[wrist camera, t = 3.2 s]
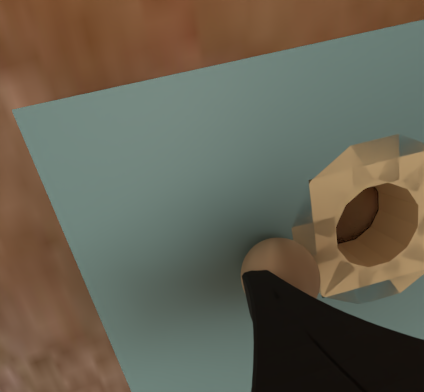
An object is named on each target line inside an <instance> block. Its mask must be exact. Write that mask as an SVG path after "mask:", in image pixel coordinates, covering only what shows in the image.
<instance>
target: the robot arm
mask: <svg viewBox="0 0 424 392" xmlns="http://www.w3.org/2000/svg"><path fill="white" fill-rule="evenodd" d="M242 280H243V285H244V289H245V294H246V299H247V303H248V308H249V313H250V317H251V319H252V322H253V339H254V350H253V374H252V388H251V392H424V340H423V339H419V338H416V337H412V336H409V335H406V334H403V333H400V332H397V331H394V330H391V329H388V328H385V327H382V326H379V325H376V324H373V323H371V322H368V321H365V320H363V319H361V318H358V317H356V316H353V315H351V314H348V313H346V312H343V311H341V310H339V309H337V308H334V307H332V306H330V305H328V304H326V303H324V302H322V301H320V300H318V299H316V298H314V297H312V296H310V295H308V294H307V293H305V292H303V291H301V290H300V289H298V288H296V287H294V286H293V285H291V284H289V283H288V282H286V281H284V280H283V279H281V278H279V277H278V276H276V275H275V274H273V273H271V272H270V271H268V270H259V271H253V270H251V271H248V272H245V273H244V274H243V275H242Z"/></svg>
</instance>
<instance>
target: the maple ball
mask: <svg viewBox="0 0 424 392" xmlns="http://www.w3.org/2000/svg"><path fill="white" fill-rule="evenodd" d="M251 270H253V271H259V270H268V271H270V272H271V273H273V274H275V275H276V276H278V277H279V278H281V279H283V280H284V281H286V282H288V283H289V284H291V285H293V286H294V287H296V288H298V289H300V290H301V291H303V292H305V293H307V294H308V295H310V296H312V297H314V298H317V296H318V293H319V290H320V283H321V280H320V272H319V268H318V265H317V263H316V261H315V259H314V258H313V256H312V255H311V254H310V252H309V251H308V250H307V249H306V248H305V247H303V246H302V245H301V244H299V243H297V242H295V241H293V240H290V239H287V238H269V239H266V240H263V241H261V242H259V243H257V244H256V245H255V246H253V247H252V248H251V249H250V250H249V252H248V253H247V255H246V256H245V258H244V261H243V263H242V267H241V283H242V287H243V290H244V292H245V289H244V285H243V280H242V275H243V274H244V273H245V272H248V271H251Z"/></svg>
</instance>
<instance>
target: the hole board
mask: <svg viewBox="0 0 424 392" xmlns="http://www.w3.org/2000/svg"><path fill="white" fill-rule="evenodd" d="M12 112H13V114H14V117H15V119H16V121H17V124H18V126H19V129H20V131H21V133H22V136H23V138H24V140H25V143H26V145H27V147H28V150H29V152H30V154H31V157H32V159H33V161H34V164H35V166H36V168H37V171H38V173H39V176H40V178H41V180H42V183H43V185H44V187H45V190H46V192H47V194H48V197H49V199H50V201H51V204H52V206H53V208H54V211H55V213H56V216H57V218H58V220H59V223H60V225H61V227H62V230H63V232H64V234H65V237H66V239H67V241H68V244H69V246H70V248H71V251H72V253H73V255H74V258H75V260H76V263H77V265H78V267H79V270H80V272H81V274H82V277H83V279H84V281H85V284H86V286H87V288H88V291H89V293H90V295H91V298H92V300H93V302H94V305H95V307H96V310H97V312H98V314H99V317H100V319H101V321H102V324H103V326H104V328H105V331H106V333H107V335H108V338H109V340H110V342H111V345H112V347H113V349H114V352H115V354H116V357H117V359H118V361H119V364H120V366H121V368H122V371H123V373H124V375H125V378H126V380H127V382H128V385H129V387H130V389H131V392H251V388H252V374H253V350H254V339H253V322H252V319H251V317H250V313H249V308H248V303H247V299H246V294H245V292H244V290H243V287H242V283H241V267H242V263H243V261H244V258H245V256H246V255H247V253H248V252H249V250H250V249H251V248H252V247H253V246H255V245H256V244H257V243H259V242H261V241H263V240H266V239H269V238H287V239H290V240H293V241H295V242H297V243H299V244H301V245H302V246H303V247H305V248H306V249H307V250H308V251H309V252H310V254H311V255H312V256H313V258H314V259H315V261H316V263H317V265H318V268H319V272H320V280H321V283H320V290H319V293H318V296H317V298H316V299H318V300H320V301H322V302H324V303H326V304H328V305H330V306H332V307H334V308H337V309H339V310H341V311H343V312H346V313H348V314H351V315H353V316H356V317H358V318H361V319H363V320H365V321H368V322H371V323H373V324H376V325H379V326H382V327H385V328H388V329H391V330H394V331H397V332H400V333H403V334H406V335H409V336H412V337H416V338H419V339H423V340H424V20H420V21H416V22H411V23H406V24H402V25H397V26H393V27H388V28H384V29H379V30H374V31H370V32H365V33H361V34H356V35H352V36H347V37H342V38H338V39H333V40H329V41H324V42H320V43H315V44H310V45H306V46H301V47H297V48H292V49H288V50H283V51H278V52H274V53H269V54H265V55H260V56H256V57H251V58H246V59H242V60H237V61H233V62H228V63H224V64H219V65H214V66H210V67H205V68H201V69H196V70H192V71H187V72H182V73H178V74H173V75H169V76H164V77H160V78H155V79H150V80H146V81H141V82H137V83H132V84H128V85H123V86H118V87H114V88H109V89H105V90H100V91H96V92H91V93H86V94H82V95H77V96H73V97H68V98H64V99H59V100H54V101H50V102H45V103H41V104H36V105H32V106H27V107H22V108H18V109H13V110H12ZM373 186H375V188H376V189H377V191H378V202H379V210H378V212H377V214H376V216H375V218H374V220H373V223H372V225H371V227H370V228H368V229H367V230H366V231H365V232H364V233H363V234H361V235H360V236H359V237H358V238H357V239H355V240H351V241H348V242H344V243H340V244H337V236H336V226H337V223H338V221H339V219H340V217H341V214H342V212H343V210H344V208H345V205H346V204H348V203H349V202H350V201H351V200H352V199H353V198H355V197H356V196H357V195H358V194H359V193H360V192H361V191H363V190H364V189H365V188H369V187H373Z"/></svg>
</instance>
